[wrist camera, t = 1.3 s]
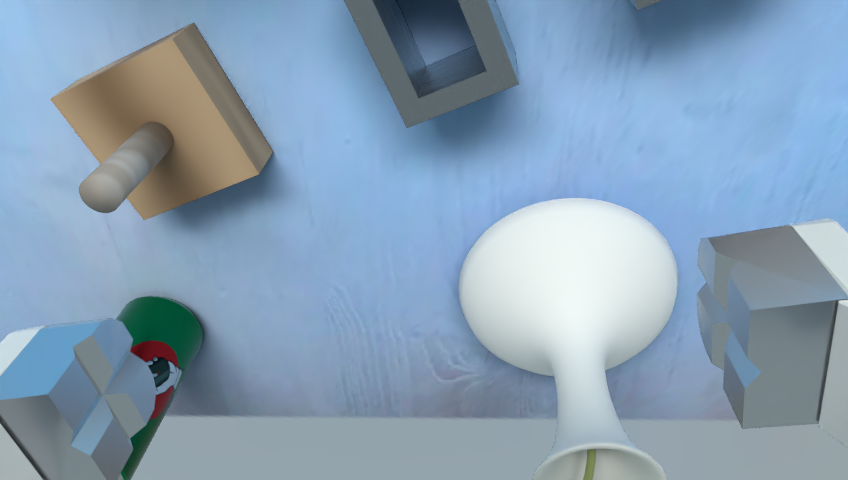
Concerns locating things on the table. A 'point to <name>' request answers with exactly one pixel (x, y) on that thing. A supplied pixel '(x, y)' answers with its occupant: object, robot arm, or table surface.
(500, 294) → the flower in vase
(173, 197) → the block
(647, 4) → the grey hollow block
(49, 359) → the robot arm
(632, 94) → the table surface
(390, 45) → the grey hollow rectangular block
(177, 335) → the soda can
